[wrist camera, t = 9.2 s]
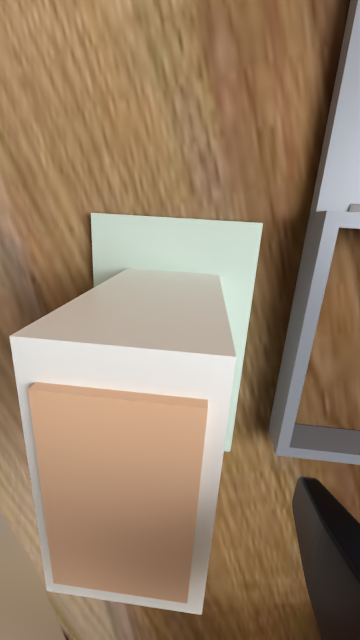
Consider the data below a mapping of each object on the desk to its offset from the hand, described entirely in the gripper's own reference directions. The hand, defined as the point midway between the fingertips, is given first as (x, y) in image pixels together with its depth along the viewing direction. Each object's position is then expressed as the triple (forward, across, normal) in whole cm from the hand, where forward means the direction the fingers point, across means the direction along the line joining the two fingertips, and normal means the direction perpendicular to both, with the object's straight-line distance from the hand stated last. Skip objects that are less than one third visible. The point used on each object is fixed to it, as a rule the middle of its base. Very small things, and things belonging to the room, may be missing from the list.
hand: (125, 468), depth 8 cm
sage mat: (+9, 0, 0) cm, 9 cm away
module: (+8, 0, 0) cm, 8 cm away
